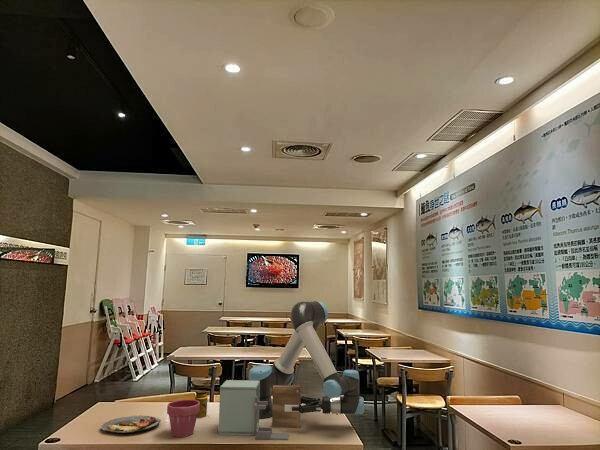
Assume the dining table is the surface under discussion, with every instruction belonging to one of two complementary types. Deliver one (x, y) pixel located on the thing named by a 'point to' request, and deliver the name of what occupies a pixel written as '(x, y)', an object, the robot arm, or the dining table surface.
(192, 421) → the plant pot
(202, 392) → the condiment
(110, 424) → the food plate
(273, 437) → the cabinet
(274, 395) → the door
